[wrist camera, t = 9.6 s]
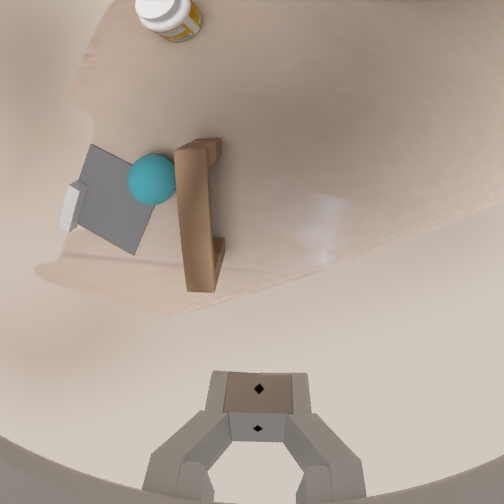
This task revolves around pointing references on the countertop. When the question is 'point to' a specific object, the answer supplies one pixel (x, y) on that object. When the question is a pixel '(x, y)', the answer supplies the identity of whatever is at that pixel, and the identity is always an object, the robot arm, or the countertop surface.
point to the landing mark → (111, 201)
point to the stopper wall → (72, 206)
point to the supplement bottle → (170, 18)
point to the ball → (152, 179)
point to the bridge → (198, 214)
